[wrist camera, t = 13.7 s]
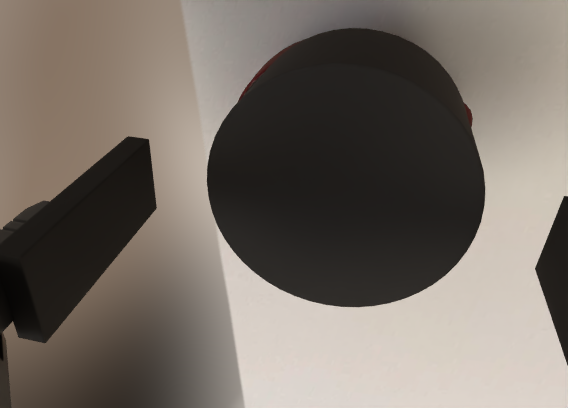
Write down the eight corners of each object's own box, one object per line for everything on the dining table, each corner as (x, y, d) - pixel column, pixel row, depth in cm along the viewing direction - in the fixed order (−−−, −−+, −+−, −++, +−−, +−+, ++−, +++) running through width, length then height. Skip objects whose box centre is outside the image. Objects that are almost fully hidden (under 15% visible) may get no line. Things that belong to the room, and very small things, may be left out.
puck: (210, 158, 22) (164, 216, 18) (325, -25, 17) (299, -5, 13) (371, 266, 23) (364, 345, 19) (521, 122, 19) (554, 184, 14)
